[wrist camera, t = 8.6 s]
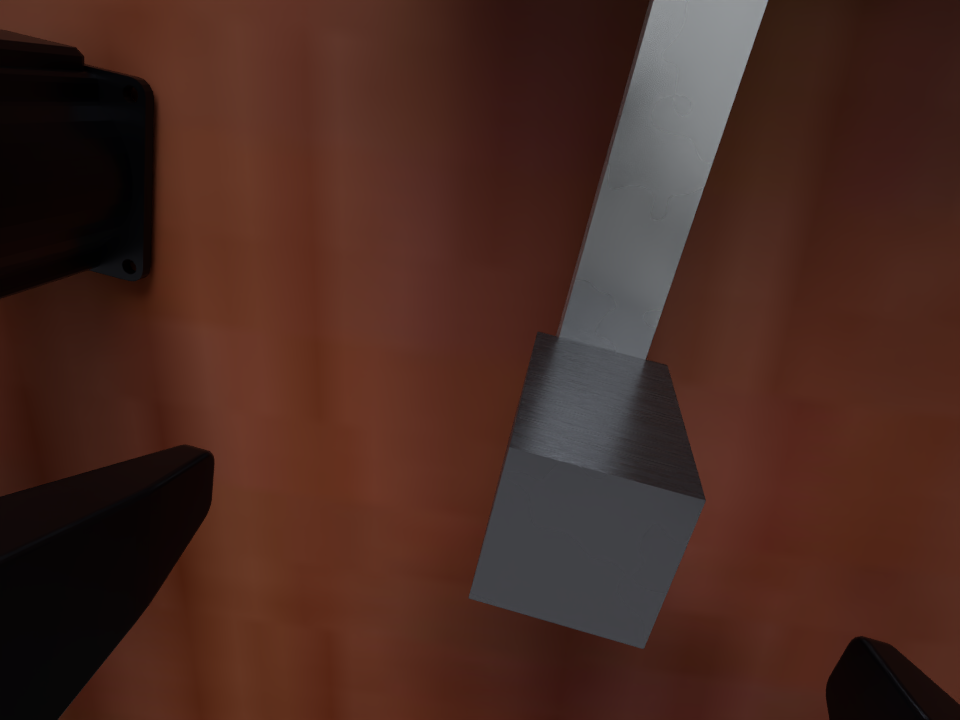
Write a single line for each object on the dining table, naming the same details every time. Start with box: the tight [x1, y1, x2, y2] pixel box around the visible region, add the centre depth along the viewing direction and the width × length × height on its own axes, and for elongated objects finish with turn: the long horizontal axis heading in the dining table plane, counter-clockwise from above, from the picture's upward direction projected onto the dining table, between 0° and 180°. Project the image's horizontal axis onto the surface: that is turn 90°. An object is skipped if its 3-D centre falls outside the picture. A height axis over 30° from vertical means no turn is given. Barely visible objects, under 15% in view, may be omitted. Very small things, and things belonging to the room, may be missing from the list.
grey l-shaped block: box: [469, 0, 768, 649], centre depth 11 cm, size 18×3×8 cm, turn 167°
